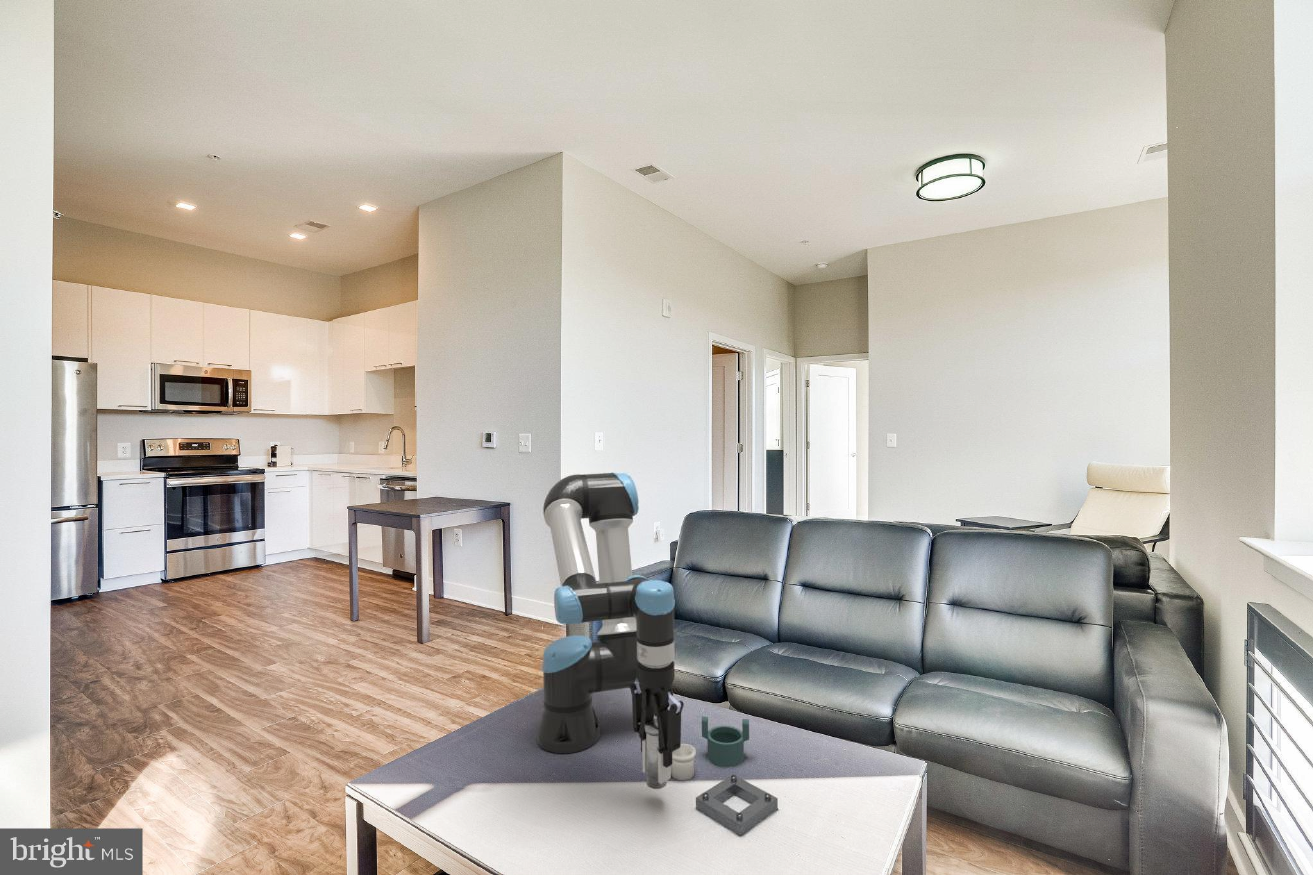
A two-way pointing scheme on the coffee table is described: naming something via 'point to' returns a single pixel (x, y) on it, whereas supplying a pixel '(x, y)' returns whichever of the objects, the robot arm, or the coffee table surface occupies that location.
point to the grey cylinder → (652, 754)
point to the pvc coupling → (683, 762)
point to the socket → (730, 818)
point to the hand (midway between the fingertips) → (656, 774)
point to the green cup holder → (725, 743)
